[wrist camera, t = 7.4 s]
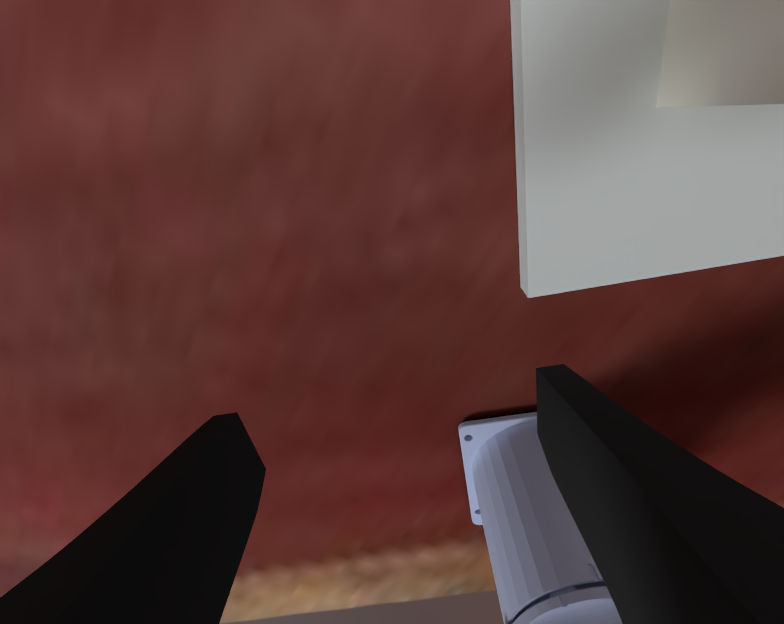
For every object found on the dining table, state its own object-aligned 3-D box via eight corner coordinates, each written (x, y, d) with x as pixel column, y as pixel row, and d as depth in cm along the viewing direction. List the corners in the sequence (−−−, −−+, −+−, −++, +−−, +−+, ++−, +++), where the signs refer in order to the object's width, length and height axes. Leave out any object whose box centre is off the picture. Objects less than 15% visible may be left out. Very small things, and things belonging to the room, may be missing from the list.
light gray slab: (835, 233, 17) (1015, 282, 12) (520, 287, 18) (566, 350, 13) (1113, -523, 9) (2064, -1367, 4) (498, -323, 10) (598, -746, 5)
